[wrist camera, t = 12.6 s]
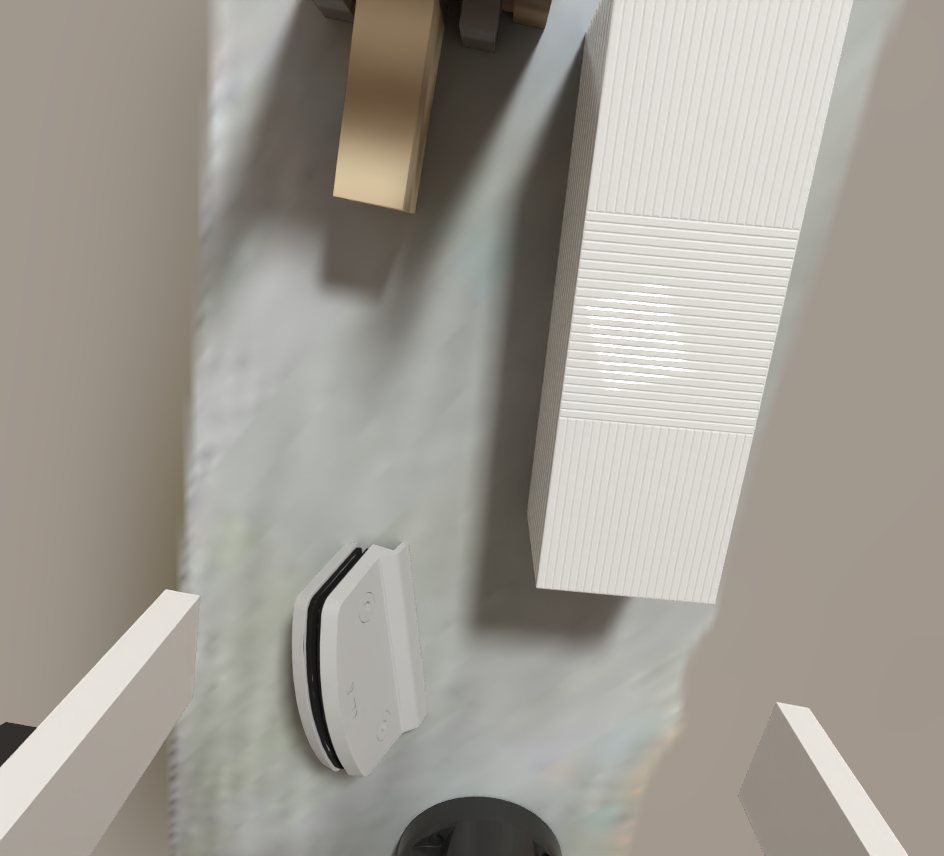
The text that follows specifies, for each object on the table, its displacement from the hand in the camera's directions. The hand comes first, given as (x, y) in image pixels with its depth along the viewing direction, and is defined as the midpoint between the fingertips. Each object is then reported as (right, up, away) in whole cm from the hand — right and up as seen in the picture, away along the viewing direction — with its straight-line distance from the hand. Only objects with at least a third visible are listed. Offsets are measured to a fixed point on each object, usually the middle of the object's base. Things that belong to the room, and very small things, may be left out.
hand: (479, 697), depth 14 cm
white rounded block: (-8, -10, +37) cm, 39 cm away
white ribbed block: (+11, +14, +29) cm, 34 cm away
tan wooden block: (-5, +26, +25) cm, 37 cm away
